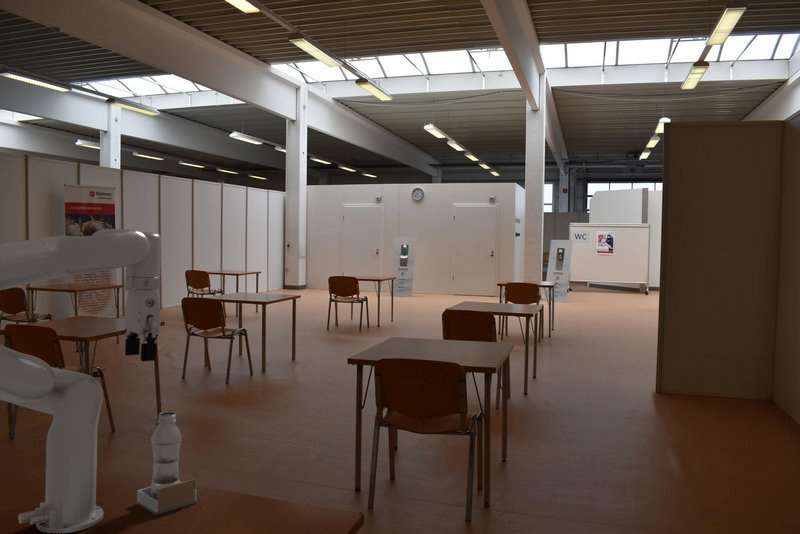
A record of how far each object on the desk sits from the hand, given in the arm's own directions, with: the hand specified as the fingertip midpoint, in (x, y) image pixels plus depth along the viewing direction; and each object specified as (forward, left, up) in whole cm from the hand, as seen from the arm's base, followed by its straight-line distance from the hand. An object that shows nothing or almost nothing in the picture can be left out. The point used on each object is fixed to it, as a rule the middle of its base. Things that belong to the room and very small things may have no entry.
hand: (140, 357), depth 145 cm
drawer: (+3, -8, -33) cm, 34 cm away
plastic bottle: (+3, -8, -32) cm, 33 cm away
